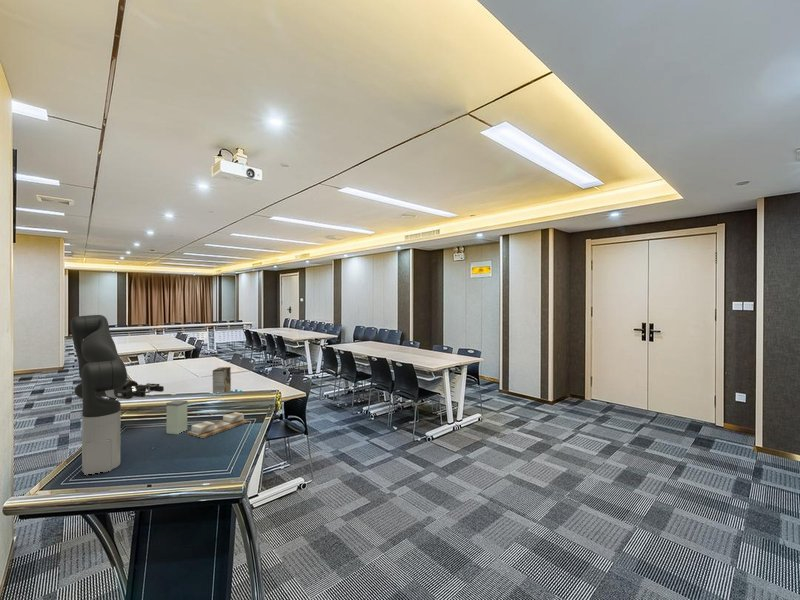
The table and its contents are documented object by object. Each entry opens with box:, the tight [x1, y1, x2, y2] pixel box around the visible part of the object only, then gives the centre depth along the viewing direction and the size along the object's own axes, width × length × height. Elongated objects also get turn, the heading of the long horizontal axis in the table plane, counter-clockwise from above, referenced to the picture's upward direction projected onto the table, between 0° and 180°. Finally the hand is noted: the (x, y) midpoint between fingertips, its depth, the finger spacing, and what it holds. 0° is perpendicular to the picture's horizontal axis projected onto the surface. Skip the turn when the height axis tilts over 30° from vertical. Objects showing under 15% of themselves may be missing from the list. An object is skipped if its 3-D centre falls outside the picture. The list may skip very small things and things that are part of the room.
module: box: [166, 399, 188, 435], centre depth 142 cm, size 4×6×12 cm
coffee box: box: [212, 366, 232, 394], centre depth 194 cm, size 9×6×16 cm
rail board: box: [186, 411, 249, 439], centre depth 146 cm, size 20×10×4 cm, turn 152°
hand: (154, 391), depth 145 cm, fingers open, 8 cm apart
